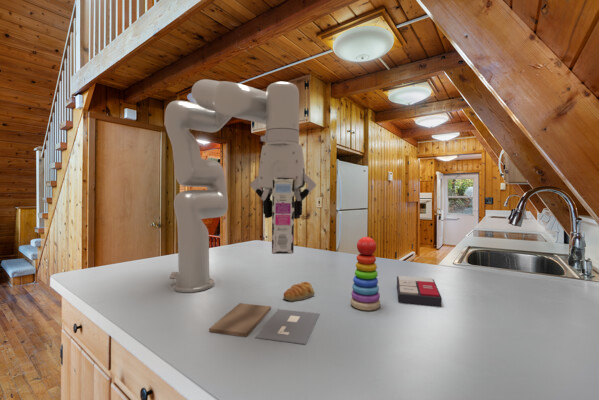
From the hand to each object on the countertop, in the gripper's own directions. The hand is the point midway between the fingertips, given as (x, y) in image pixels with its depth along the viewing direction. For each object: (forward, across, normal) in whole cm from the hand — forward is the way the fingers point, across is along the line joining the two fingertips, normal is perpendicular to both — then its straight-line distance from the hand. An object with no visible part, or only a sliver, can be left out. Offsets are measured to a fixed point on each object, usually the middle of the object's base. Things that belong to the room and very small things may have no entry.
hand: (282, 217), depth 67 cm
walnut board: (+25, -10, 0) cm, 27 cm away
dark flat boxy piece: (+26, +33, +27) cm, 50 cm away
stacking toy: (+25, +18, +16) cm, 35 cm away
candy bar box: (+8, 0, 0) cm, 8 cm away
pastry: (+26, 0, +18) cm, 32 cm away
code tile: (+25, +2, 0) cm, 25 cm away
